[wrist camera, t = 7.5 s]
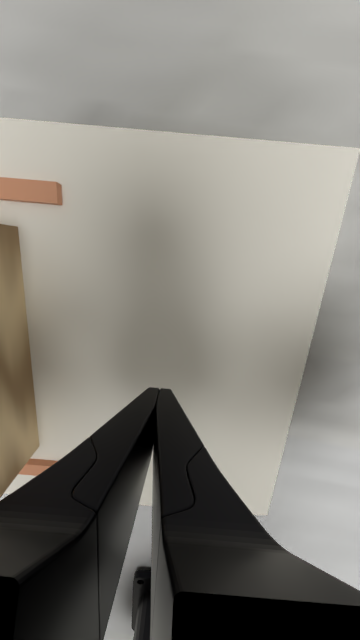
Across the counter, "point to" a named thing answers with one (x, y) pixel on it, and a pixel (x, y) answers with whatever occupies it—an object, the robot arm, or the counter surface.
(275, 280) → the board
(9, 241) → the t block
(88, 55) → the counter surface
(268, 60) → the counter surface
